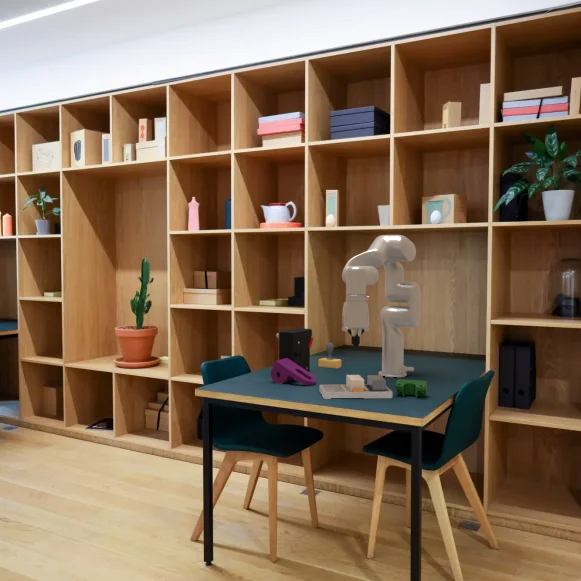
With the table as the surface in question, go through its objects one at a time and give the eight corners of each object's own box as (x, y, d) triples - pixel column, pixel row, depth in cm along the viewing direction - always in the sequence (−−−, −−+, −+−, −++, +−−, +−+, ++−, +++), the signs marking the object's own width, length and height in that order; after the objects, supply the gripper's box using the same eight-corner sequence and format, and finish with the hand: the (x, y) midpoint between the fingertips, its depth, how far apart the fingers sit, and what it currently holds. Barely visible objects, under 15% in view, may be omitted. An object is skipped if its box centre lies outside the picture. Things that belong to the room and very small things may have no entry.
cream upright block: (346, 390, 245) (346, 374, 245) (358, 389, 245) (358, 374, 245) (351, 395, 235) (351, 379, 235) (364, 395, 236) (364, 379, 235)
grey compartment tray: (383, 390, 248) (383, 374, 248) (392, 398, 234) (392, 381, 234) (319, 391, 246) (319, 374, 246) (324, 399, 232) (324, 381, 232)
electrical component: (294, 369, 292) (294, 327, 291) (313, 372, 287) (313, 329, 286) (274, 376, 277) (274, 331, 276) (294, 378, 272) (294, 333, 271)
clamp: (400, 407, 238) (390, 387, 237) (403, 400, 244) (393, 380, 242) (429, 398, 233) (419, 377, 232) (431, 391, 238) (421, 371, 237)
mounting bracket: (312, 396, 264) (279, 374, 272) (319, 379, 261) (287, 357, 269) (300, 400, 256) (268, 377, 264) (308, 383, 253) (275, 360, 261)
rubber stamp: (318, 366, 302) (318, 342, 301) (323, 365, 307) (323, 341, 306) (336, 368, 297) (337, 343, 296) (341, 366, 302) (341, 342, 301)
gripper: (372, 298, 243) (372, 344, 244) (335, 298, 241) (334, 345, 242) (377, 299, 235) (376, 347, 236) (338, 299, 234) (337, 347, 235)
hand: (355, 346), depth 239 cm, fingers closed
